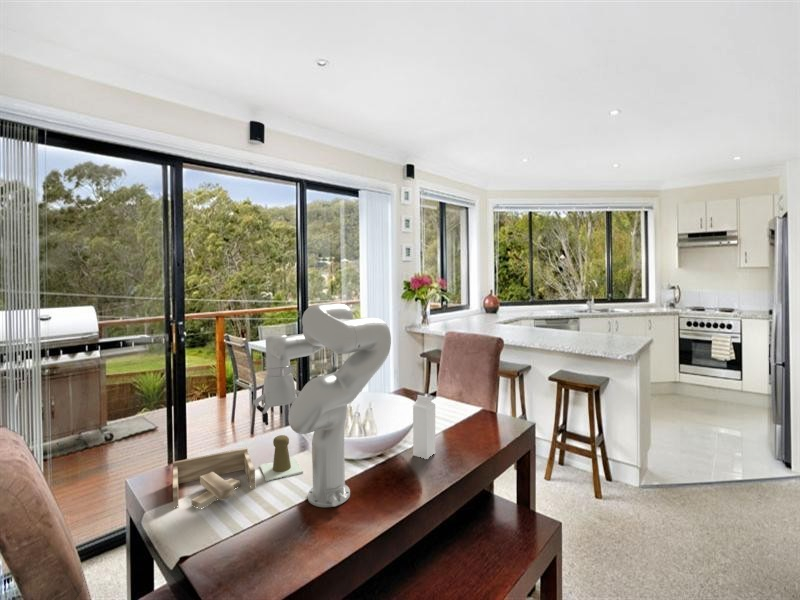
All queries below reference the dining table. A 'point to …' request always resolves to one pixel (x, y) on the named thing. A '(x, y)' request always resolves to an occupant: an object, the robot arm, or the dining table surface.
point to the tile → (271, 474)
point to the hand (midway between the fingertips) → (281, 421)
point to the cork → (281, 454)
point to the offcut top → (217, 485)
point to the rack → (212, 467)
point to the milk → (423, 427)
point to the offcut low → (211, 495)
